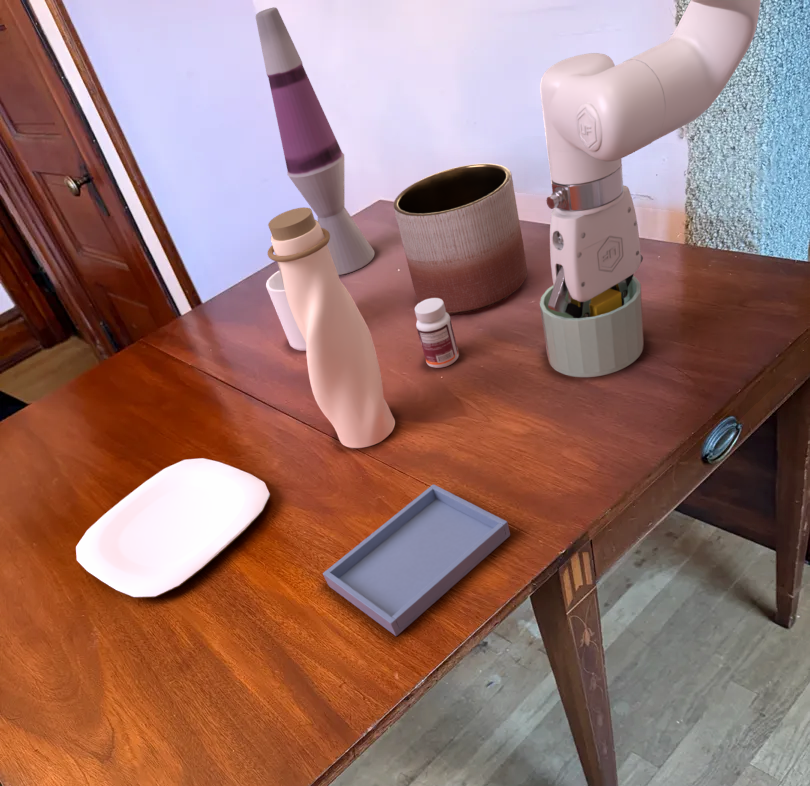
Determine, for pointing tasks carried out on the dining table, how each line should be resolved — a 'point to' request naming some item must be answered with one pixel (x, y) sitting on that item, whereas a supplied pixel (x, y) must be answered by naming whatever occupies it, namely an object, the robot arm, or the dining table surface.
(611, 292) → the yellow block
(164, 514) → the plate
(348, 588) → the tray
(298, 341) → the mug
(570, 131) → the robot arm
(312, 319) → the water bottle
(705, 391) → the dining table surface
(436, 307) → the pill bottle
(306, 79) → the lamp
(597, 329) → the mint faceted tub
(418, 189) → the planter
